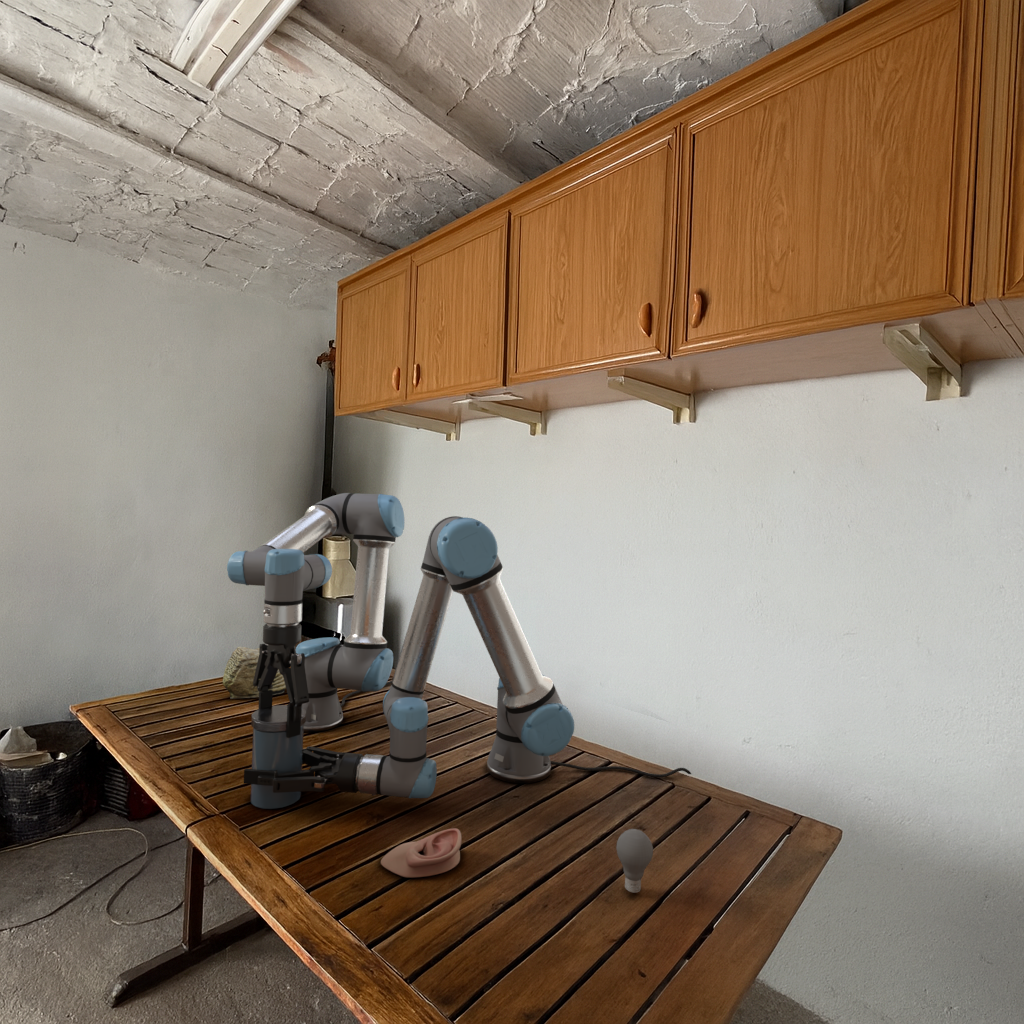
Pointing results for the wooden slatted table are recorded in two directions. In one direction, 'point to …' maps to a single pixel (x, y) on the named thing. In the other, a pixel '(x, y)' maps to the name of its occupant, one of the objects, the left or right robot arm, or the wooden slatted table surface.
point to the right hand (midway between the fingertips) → (257, 765)
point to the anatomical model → (425, 855)
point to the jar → (275, 765)
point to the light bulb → (634, 857)
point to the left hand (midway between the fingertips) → (278, 728)
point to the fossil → (246, 674)
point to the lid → (273, 718)
